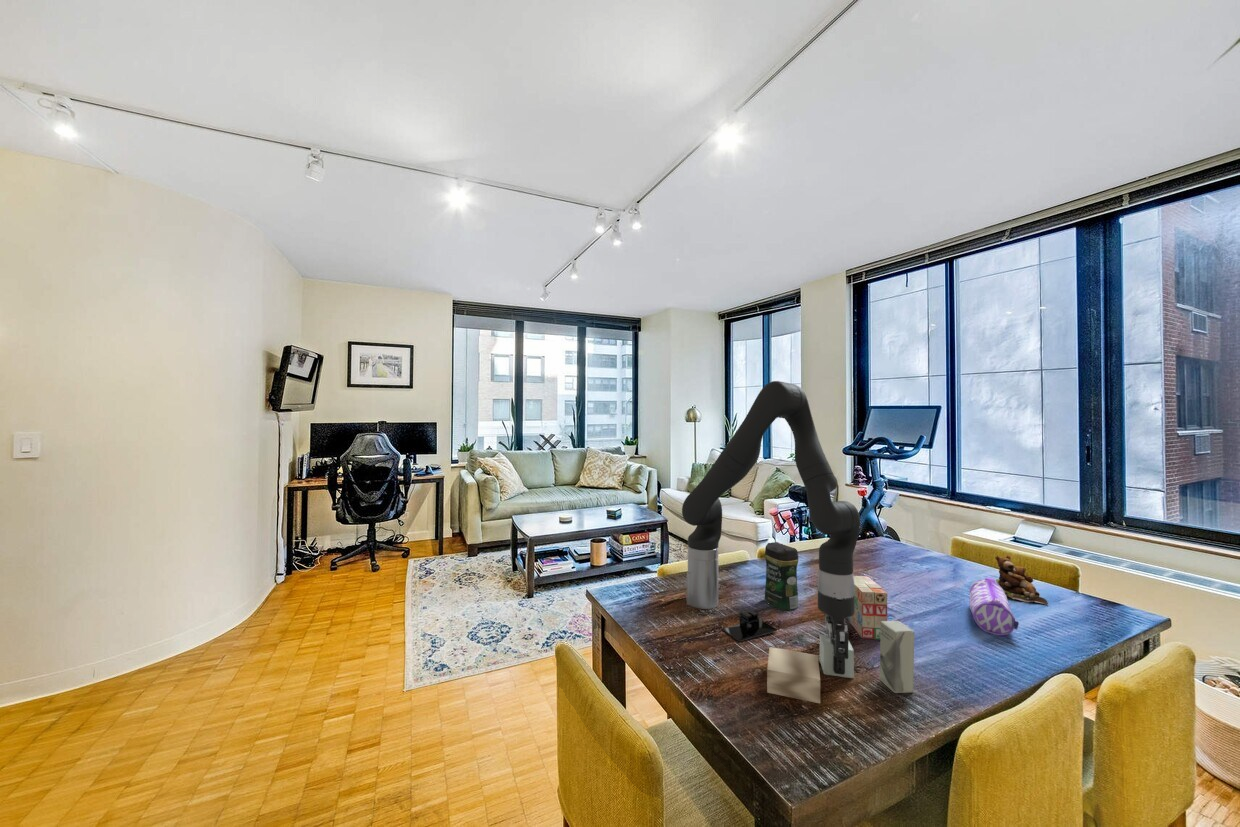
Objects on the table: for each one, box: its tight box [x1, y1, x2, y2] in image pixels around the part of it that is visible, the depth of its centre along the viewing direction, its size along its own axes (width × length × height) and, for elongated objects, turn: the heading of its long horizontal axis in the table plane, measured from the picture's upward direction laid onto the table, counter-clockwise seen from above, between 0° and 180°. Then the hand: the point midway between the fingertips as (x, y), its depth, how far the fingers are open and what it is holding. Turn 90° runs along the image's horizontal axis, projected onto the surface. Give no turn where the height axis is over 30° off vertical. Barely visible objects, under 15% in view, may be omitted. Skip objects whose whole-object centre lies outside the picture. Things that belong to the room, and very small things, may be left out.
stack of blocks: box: [846, 575, 888, 640], centre depth 127 cm, size 21×6×12 cm, turn 172°
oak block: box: [766, 646, 821, 704], centre depth 96 cm, size 10×10×5 cm
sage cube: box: [819, 634, 855, 679], centre depth 102 cm, size 6×6×6 cm
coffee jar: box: [764, 541, 799, 611], centre depth 137 cm, size 10×8×19 cm
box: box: [879, 620, 916, 694], centre depth 95 cm, size 5×4×13 cm
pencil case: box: [968, 576, 1020, 636], centre depth 127 cm, size 22×9×10 cm, turn 147°
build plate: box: [722, 609, 778, 642], centre depth 120 cm, size 12×7×5 cm, turn 114°
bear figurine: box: [995, 554, 1049, 606], centre depth 147 cm, size 14×15×12 cm
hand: (836, 665), depth 102 cm, fingers closed on sage cube, 6 cm apart
